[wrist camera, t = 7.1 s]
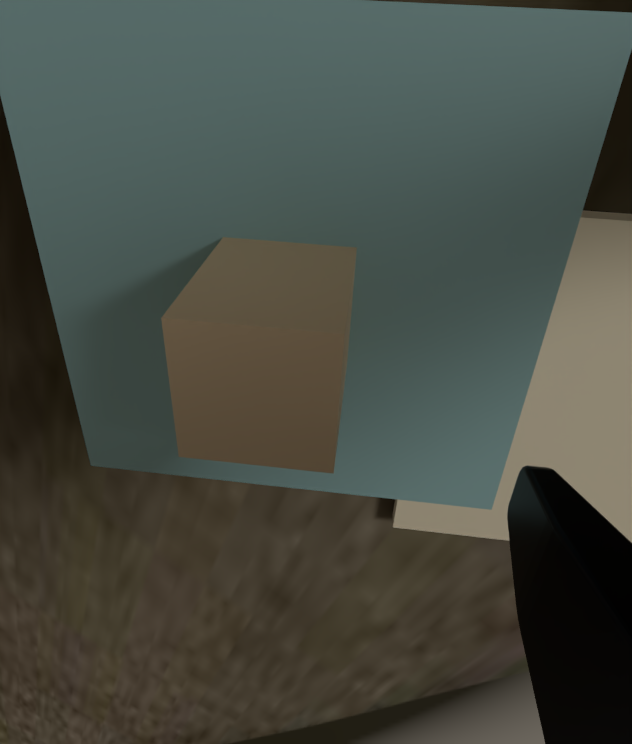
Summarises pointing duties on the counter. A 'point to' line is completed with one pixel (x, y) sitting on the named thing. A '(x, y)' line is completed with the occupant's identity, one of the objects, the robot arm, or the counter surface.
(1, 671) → the counter surface
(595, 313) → the mat
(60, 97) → the lid
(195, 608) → the counter surface
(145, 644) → the counter surface
